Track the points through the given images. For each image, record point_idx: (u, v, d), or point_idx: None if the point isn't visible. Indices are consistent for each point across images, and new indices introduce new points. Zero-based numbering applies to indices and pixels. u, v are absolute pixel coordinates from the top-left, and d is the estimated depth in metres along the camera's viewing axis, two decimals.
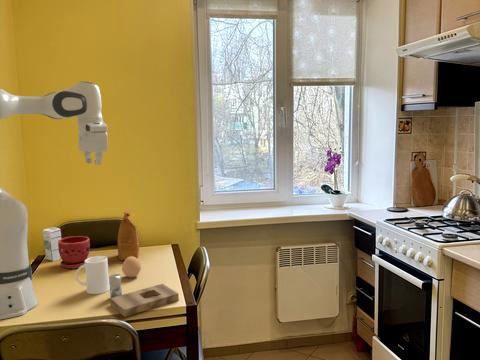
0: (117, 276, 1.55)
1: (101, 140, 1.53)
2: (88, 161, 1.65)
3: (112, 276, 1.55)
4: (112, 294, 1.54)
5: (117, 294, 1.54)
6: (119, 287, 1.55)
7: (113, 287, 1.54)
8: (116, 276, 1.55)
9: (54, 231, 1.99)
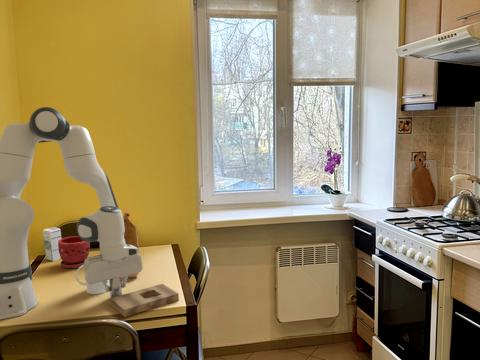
0: None
1: None
2: None
3: None
4: (112, 294, 1.54)
5: (117, 294, 1.54)
6: (119, 287, 1.55)
7: (113, 287, 1.53)
8: None
9: (54, 231, 1.99)
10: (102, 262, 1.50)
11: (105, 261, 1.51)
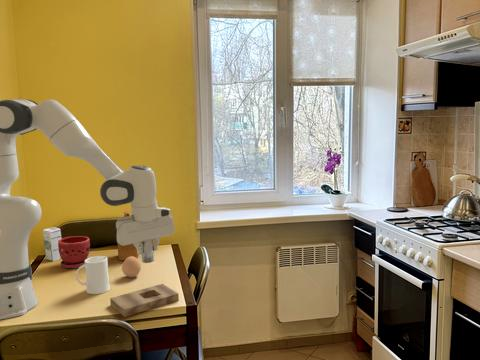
0: None
1: None
2: None
3: None
4: (144, 257, 1.48)
5: (149, 257, 1.48)
6: (151, 250, 1.49)
7: (145, 249, 1.48)
8: None
9: (54, 231, 1.99)
10: (134, 223, 1.44)
11: (137, 222, 1.44)
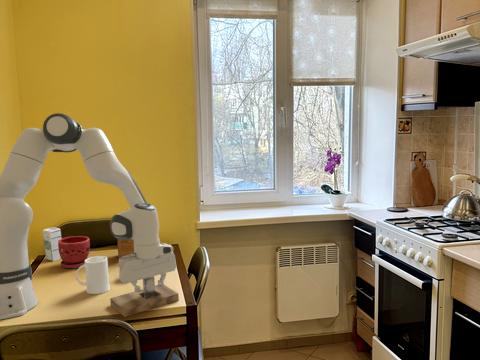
0: (151, 277, 1.51)
1: None
2: None
3: (146, 278, 1.51)
4: (146, 296, 1.50)
5: (151, 296, 1.50)
6: (153, 289, 1.51)
7: (147, 288, 1.50)
8: (149, 277, 1.51)
9: (54, 231, 1.99)
10: (137, 261, 1.46)
11: (140, 259, 1.47)
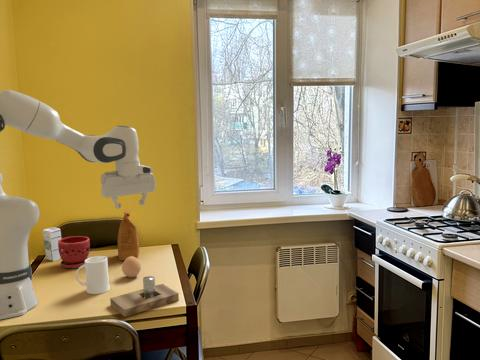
0: (151, 278, 1.51)
1: None
2: None
3: (146, 278, 1.51)
4: (145, 296, 1.50)
5: (150, 297, 1.50)
6: (153, 290, 1.50)
7: (146, 289, 1.50)
8: (150, 278, 1.51)
9: (54, 231, 1.99)
10: (118, 177, 1.57)
11: (121, 177, 1.57)
